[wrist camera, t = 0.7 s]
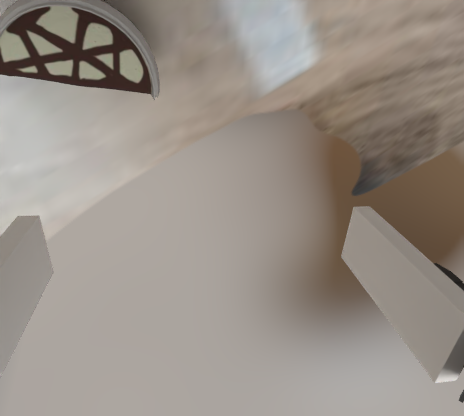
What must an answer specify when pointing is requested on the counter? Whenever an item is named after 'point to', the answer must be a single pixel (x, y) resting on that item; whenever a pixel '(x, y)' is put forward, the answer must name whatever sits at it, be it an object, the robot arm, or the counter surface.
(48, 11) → the food container
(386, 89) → the counter surface
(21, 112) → the counter surface
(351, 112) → the counter surface
